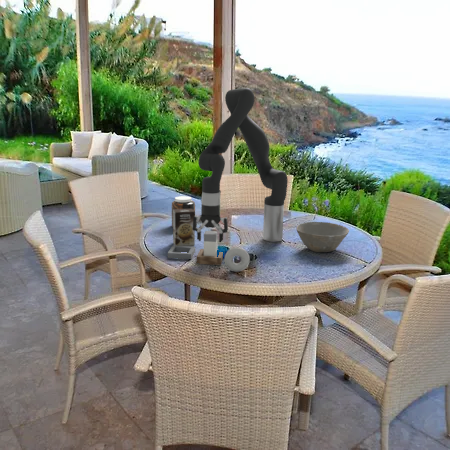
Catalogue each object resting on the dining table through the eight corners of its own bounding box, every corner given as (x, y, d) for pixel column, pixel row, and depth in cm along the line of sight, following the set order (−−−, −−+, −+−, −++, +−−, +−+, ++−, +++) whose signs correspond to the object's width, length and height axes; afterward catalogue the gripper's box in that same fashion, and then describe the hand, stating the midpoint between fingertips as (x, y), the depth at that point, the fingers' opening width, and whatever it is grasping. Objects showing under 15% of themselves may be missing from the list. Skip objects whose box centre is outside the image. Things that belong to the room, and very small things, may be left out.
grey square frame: (195, 252, 217) (195, 246, 216) (191, 259, 207) (191, 254, 207) (172, 250, 218) (172, 245, 217) (167, 258, 208) (167, 252, 208)
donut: (249, 270, 197) (249, 246, 195) (249, 273, 194) (250, 248, 191) (223, 269, 197) (224, 245, 194) (224, 272, 194) (224, 248, 191)
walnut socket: (223, 256, 212) (223, 250, 211) (220, 265, 202) (221, 258, 201) (200, 255, 213) (200, 248, 212) (196, 263, 203) (196, 256, 202)
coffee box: (175, 247, 223) (175, 212, 219) (172, 242, 229) (172, 208, 225) (195, 245, 225) (195, 211, 221) (192, 241, 231) (192, 207, 227)
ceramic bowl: (286, 244, 230) (287, 223, 227) (329, 240, 237) (331, 220, 235) (311, 260, 210) (312, 237, 207) (357, 255, 217) (359, 233, 215)
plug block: (217, 258, 210) (217, 231, 206) (215, 262, 205) (216, 234, 201) (205, 257, 210) (205, 230, 207) (203, 261, 205) (203, 234, 202)
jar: (185, 230, 248) (185, 201, 244) (167, 227, 254) (166, 198, 249) (199, 225, 257) (199, 197, 253) (181, 222, 263) (180, 194, 259)
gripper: (229, 201, 204) (228, 239, 208) (195, 199, 205) (194, 237, 209) (227, 205, 196) (226, 245, 201) (191, 204, 198) (191, 242, 202)
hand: (210, 241), depth 205 cm, fingers open, 8 cm apart
